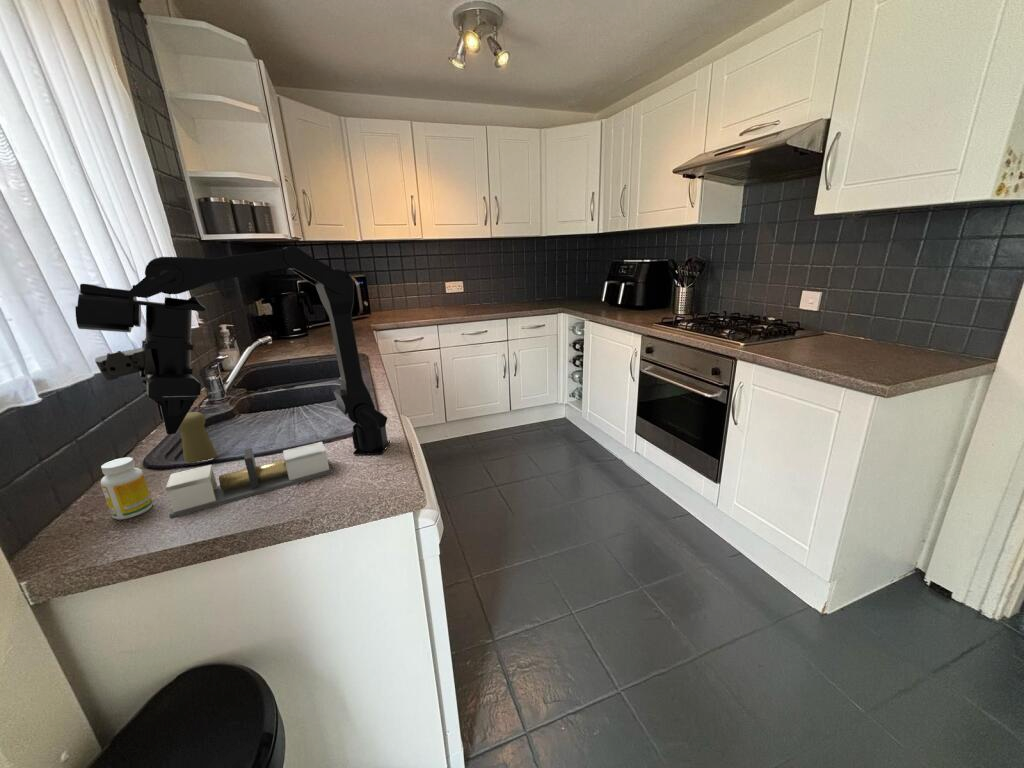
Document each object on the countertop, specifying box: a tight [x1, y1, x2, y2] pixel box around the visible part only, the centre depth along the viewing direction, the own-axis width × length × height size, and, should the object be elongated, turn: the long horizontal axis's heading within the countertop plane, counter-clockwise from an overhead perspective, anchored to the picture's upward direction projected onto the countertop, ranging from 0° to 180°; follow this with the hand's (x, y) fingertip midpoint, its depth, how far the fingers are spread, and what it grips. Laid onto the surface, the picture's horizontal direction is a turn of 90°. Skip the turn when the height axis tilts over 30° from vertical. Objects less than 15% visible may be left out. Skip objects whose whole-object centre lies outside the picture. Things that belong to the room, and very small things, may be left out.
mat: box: [168, 461, 333, 519], centre depth 78 cm, size 26×7×1 cm, turn 122°
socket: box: [165, 464, 219, 512], centre depth 72 cm, size 6×6×5 cm
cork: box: [178, 411, 218, 463], centre depth 89 cm, size 6×6×11 cm
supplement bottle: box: [100, 456, 153, 520], centre depth 70 cm, size 5×5×10 cm
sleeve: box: [282, 441, 329, 480], centre depth 82 cm, size 7×5×4 cm
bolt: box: [218, 447, 288, 491], centre depth 78 cm, size 17×5×6 cm, turn 122°
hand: (167, 426), depth 69 cm, fingers open, 9 cm apart
